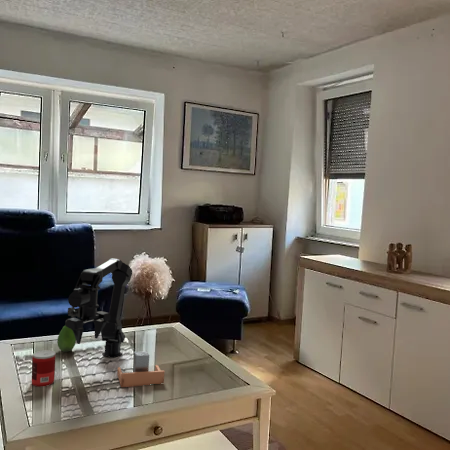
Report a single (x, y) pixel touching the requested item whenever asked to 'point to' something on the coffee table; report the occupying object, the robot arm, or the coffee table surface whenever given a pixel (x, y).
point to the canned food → (43, 368)
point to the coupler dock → (140, 377)
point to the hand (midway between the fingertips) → (87, 341)
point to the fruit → (66, 339)
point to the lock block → (141, 361)
